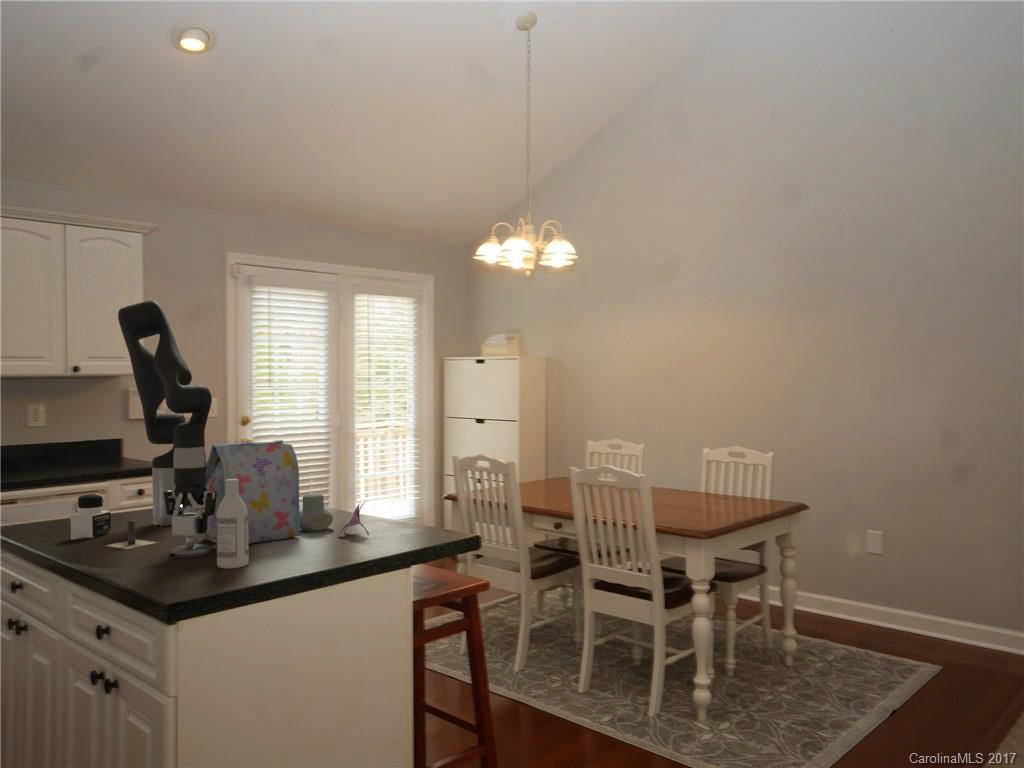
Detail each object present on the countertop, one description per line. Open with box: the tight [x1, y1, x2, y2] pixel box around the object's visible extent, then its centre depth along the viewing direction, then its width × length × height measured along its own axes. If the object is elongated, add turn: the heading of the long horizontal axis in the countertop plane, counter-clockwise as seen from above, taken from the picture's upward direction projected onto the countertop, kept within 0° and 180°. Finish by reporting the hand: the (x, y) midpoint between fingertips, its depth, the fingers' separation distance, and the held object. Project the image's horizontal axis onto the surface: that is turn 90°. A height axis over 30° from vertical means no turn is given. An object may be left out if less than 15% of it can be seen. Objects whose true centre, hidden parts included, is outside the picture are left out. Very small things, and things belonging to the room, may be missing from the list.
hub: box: [169, 535, 210, 559], centre depth 200 cm, size 9×9×5 cm
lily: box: [338, 502, 370, 536], centre depth 222 cm, size 12×12×10 cm
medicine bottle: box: [70, 493, 112, 541], centre depth 221 cm, size 7×7×12 cm
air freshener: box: [300, 493, 334, 533], centre depth 230 cm, size 11×8×10 cm
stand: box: [104, 519, 159, 550], centre depth 208 cm, size 9×9×7 cm
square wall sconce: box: [171, 512, 209, 537], centre depth 199 cm, size 6×6×4 cm
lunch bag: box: [202, 439, 301, 544], centre depth 217 cm, size 22×17×26 cm
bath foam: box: [216, 479, 250, 570], centre depth 186 cm, size 7×7×20 cm
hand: (190, 532), depth 200 cm, fingers closed on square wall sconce, 6 cm apart
